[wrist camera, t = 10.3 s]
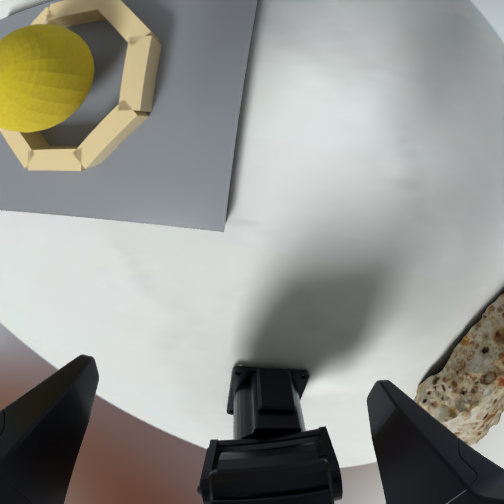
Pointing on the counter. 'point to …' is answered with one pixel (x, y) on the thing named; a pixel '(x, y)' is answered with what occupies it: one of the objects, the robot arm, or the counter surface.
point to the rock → (470, 380)
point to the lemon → (42, 76)
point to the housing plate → (167, 140)
